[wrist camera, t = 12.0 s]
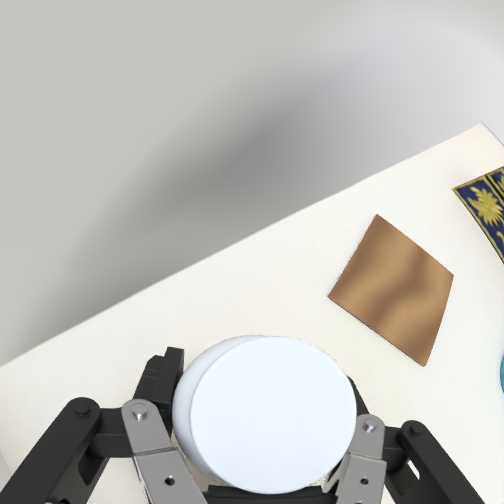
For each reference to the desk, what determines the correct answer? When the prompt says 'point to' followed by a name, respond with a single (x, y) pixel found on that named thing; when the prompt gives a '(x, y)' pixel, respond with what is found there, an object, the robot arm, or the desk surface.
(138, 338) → the desk surface
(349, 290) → the shiny brown mat
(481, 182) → the decorative box
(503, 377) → the cup
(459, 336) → the desk surface
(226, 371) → the pill bottle
